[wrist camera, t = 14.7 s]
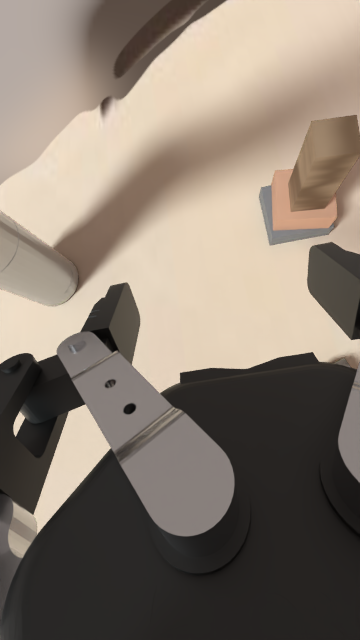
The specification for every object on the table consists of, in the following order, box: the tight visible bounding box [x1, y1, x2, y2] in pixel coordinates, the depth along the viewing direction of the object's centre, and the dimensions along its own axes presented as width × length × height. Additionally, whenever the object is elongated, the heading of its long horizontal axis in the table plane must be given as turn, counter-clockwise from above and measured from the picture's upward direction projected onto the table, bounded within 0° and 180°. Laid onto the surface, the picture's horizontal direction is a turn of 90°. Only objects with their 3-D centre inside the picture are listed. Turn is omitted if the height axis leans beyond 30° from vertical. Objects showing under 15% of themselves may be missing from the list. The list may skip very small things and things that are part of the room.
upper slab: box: [271, 169, 337, 231], centre depth 39 cm, size 8×8×3 cm
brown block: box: [288, 115, 360, 212], centre depth 32 cm, size 4×4×10 cm
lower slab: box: [259, 186, 334, 245], centre depth 42 cm, size 9×9×3 cm
